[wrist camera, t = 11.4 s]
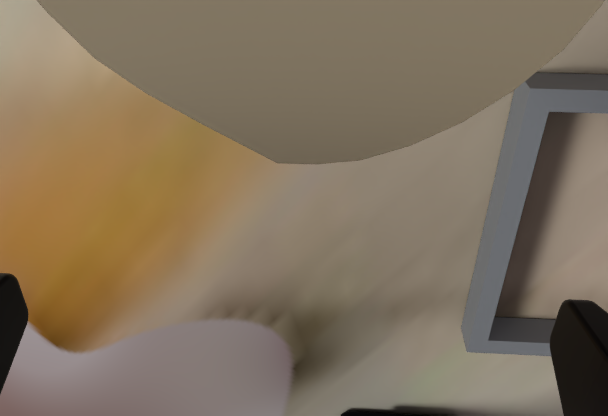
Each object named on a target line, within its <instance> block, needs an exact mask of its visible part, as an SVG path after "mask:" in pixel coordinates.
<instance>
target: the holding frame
mask: <svg viewBox="0 0 608 416" xmlns="http://www.w3.org/2000/svg"><path fill="white" fill-rule="evenodd" d="M549 112H576V113H608V75H607V74H569V73H535V74H533V75H532V76H531V77H530V78H528V79H527V80H526V81H525V82H524V83H522V84H521V85H520V86H519V87H518V88H516V89H515V90H514V94H513V99H512V103H511V108H510V112H509V117H508V121H507V126H506V130H505V135H504V139H503V143H502V148H501V152H500V157H499V161H498V166H497V170H496V175H495V179H494V184H493V188H492V192H491V197H490V201H489V206H488V210H487V215H486V219H485V224H484V228H483V233H482V237H481V242H480V246H479V250H478V255H477V259H476V264H475V268H474V273H473V277H472V282H471V286H470V291H469V295H468V299H467V304H466V308H465V313H464V317H463V322H462V326H461V329H462V334H463V338H464V342H465V346H466V351H467V352H476V353H497V354H518V355H539V356H551V352H550V336H551V332H552V329H553V327H554V324H555V321H556V320H550V319H528V318H506V317H494V316H495V312H496V308H497V305H498V301H499V297H500V293H501V290H502V286H503V282H504V278H505V275H506V271H507V267H508V263H509V260H510V256H511V252H512V248H513V245H514V241H515V237H516V233H517V230H518V226H519V222H520V218H521V214H522V211H523V207H524V203H525V199H526V196H527V192H528V188H529V184H530V181H531V177H532V173H533V169H534V166H535V162H536V158H537V154H538V151H539V147H540V143H541V139H542V136H543V132H544V128H545V124H546V120H547V117H548V113H549Z"/></svg>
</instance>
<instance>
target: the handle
mask: <svg viewBox="0 0 608 416" xmlns="http://www.w3.org/2000/svg"><path fill="white" fill-rule="evenodd" d="M37 1H38V2H39V4H40V5H41V6H42V7H43V8H44V9H45V10H46V11H47V13H48V14H49V15H50V16H51V17H52V18H54V19H55V20H56V21H57V22H58V23H59V24H60V25H61V26H62V27H63V28H64V29H65V30H66V31H67V32H68V33H69V34H70V35H71V36H72V37H73V38H74V39H75V40H76V41H77V42H78V43H79V44H80V45H81V46H83V47H84V48H85V49H86V50H87V51H88V52H89V53H90V54H91V55H92V56H93V57H94V58H95V59H96V60H98V61H99V62H101V63H102V64H104V65H105V66H107V67H108V68H110V69H111V70H112V71H114V72H115V73H117V74H118V75H120V76H121V77H123V78H124V79H126V80H127V81H129V82H130V83H132V84H133V85H134V86H136V87H137V88H139V89H140V90H142V91H143V92H145V93H147V94H148V95H150V96H152V97H154V98H156V99H157V100H159V101H161V102H163V103H165V104H167V105H168V106H170V107H172V108H174V109H176V110H177V111H179V112H181V113H183V114H185V115H187V116H188V117H190V118H192V119H194V120H196V121H197V122H199V123H201V124H203V125H205V126H207V127H209V128H211V129H213V130H214V131H216V132H218V133H220V134H222V135H224V136H226V137H228V138H230V139H232V140H234V141H236V142H238V143H239V144H241V145H243V146H245V147H247V148H249V149H251V150H253V151H255V152H257V153H259V154H261V155H263V156H265V157H266V158H268V159H270V160H272V161H274V162H276V163H287V164H326V163H336V162H347V161H358V160H363V159H366V158H370V157H373V156H377V155H380V154H384V153H387V152H390V151H394V150H397V149H401V148H404V147H408V146H411V145H413V144H415V143H417V142H419V141H422V140H424V139H426V138H428V137H431V136H433V135H435V134H437V133H440V132H442V131H444V130H446V129H448V128H451V127H453V126H455V125H457V124H460V123H462V122H464V121H465V120H467V119H468V118H470V117H472V116H473V115H475V114H476V113H478V112H480V111H481V110H483V109H484V108H486V107H488V106H489V105H491V104H493V103H494V102H496V101H497V100H499V99H501V98H502V97H504V96H505V95H507V94H509V93H510V92H512V91H513V90H515V89H516V88H518V87H519V86H520V85H521V84H522V83H524V82H525V81H526V80H527V79H528V78H530V77H531V76H532V75H533V74H535V73H536V72H537V71H538V70H539V69H541V68H542V67H543V66H544V65H545V64H547V63H548V62H549V61H550V60H551V59H553V58H554V57H555V56H556V55H558V54H559V53H560V52H561V51H562V50H564V48H565V47H566V46H567V45H568V44H569V43H570V41H571V40H572V39H573V38H574V37H575V36H576V34H577V33H578V32H579V31H580V30H581V29H582V27H583V26H584V25H585V24H586V23H587V22H588V20H589V19H590V18H591V17H592V16H593V15H594V13H595V12H596V11H597V10H598V9H599V8H600V6H601V5H602V4H603V2H604V1H605V0H37Z"/></svg>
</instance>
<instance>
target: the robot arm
mask: <svg viewBox="0 0 608 416" xmlns="http://www.w3.org/2000/svg"><path fill="white" fill-rule="evenodd" d="M27 321H28V309H27V306H26V303H25V300H24V297H23V294H22V291H21V288H20V286H19V283H18V280H17V278H16V277H15V276H14V275H12V274H9V273H0V394H1V391H2V388H3V386H4V383H5V381H6V378H7V375H8V373H9V370H10V367H11V365H12V362H13V359H14V357H15V354H16V352H17V349H18V346H19V344H20V341H21V338H22V336H23V333H24V330H25V328H26V325H27ZM550 352H551V357H552V361H553V366H554V371H555V376H556V381H557V385H558V390H559V395H560V400H561V404H562V409H563V414H564V416H608V313H607V312H606V311H605V310H603V309H602V308H601V307H599V306H598V305H597V304H595V303H594V302H592V301H589V300H572V299H569V300H565V301H564V302H563V303H562V305H561V307H560V309H559V312H558V315H557V318H556V321H555V324H554V327H553V329H552V332H551V336H550ZM341 416H424V415H405V414H386V413H367V412H344V413H342V414H341Z"/></svg>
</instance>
